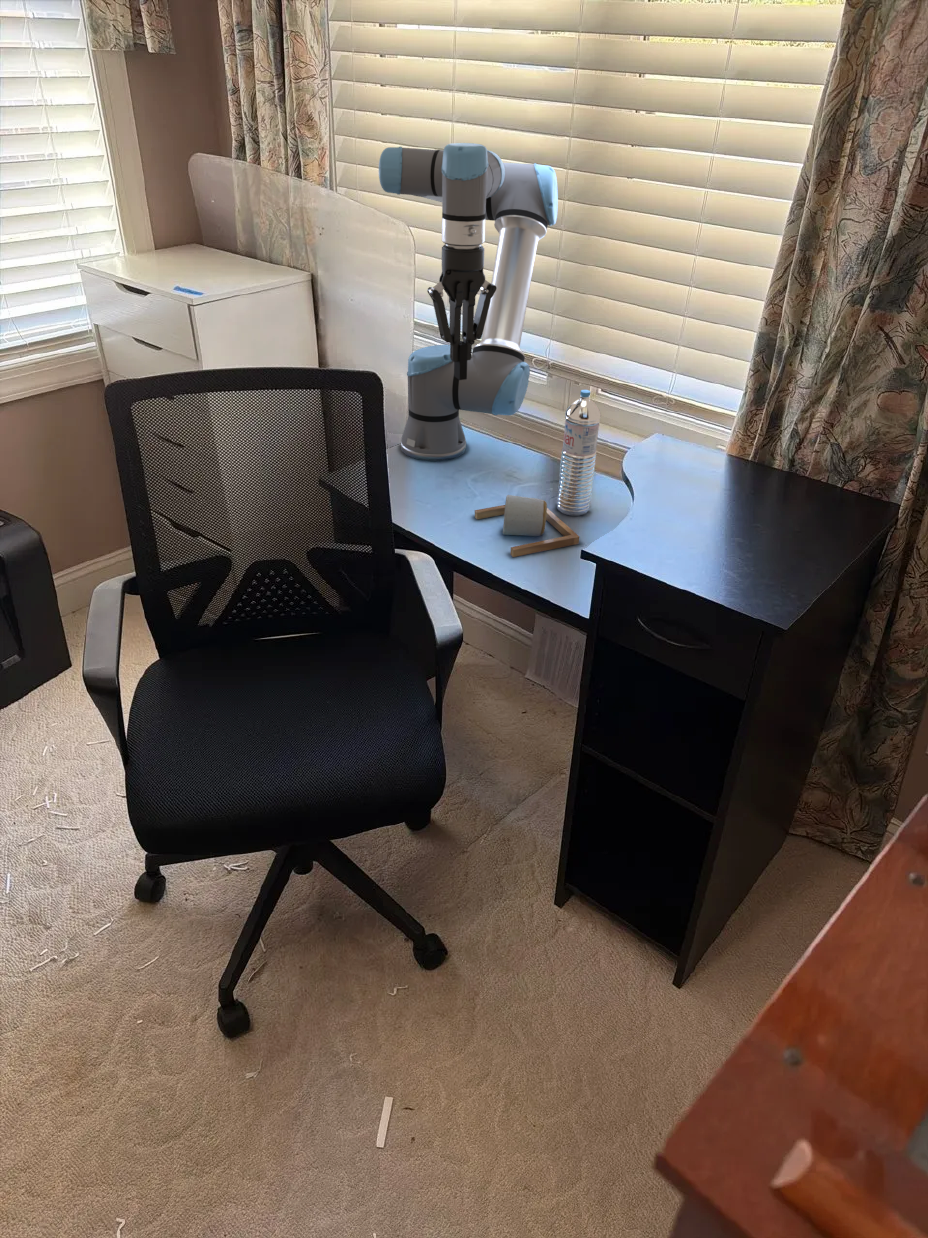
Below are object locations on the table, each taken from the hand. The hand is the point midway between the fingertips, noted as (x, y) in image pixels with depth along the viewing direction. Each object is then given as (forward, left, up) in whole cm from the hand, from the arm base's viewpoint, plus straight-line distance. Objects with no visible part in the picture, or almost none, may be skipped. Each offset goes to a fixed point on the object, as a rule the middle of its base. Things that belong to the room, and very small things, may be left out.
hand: (460, 377), depth 162 cm
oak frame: (+16, +7, -26) cm, 32 cm away
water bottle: (+12, +21, -27) cm, 36 cm away
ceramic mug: (+16, +7, -27) cm, 32 cm away
